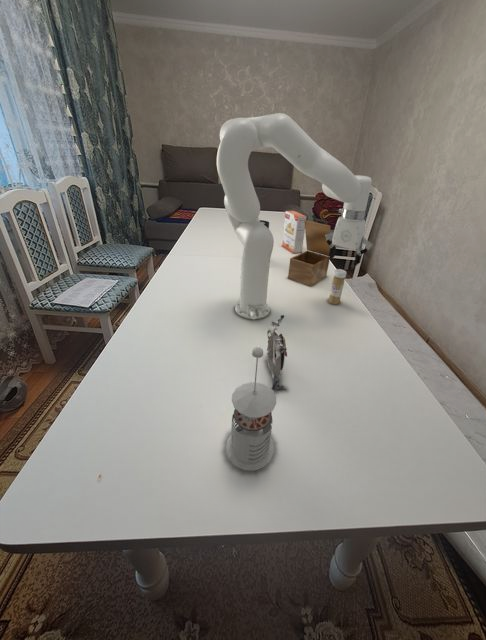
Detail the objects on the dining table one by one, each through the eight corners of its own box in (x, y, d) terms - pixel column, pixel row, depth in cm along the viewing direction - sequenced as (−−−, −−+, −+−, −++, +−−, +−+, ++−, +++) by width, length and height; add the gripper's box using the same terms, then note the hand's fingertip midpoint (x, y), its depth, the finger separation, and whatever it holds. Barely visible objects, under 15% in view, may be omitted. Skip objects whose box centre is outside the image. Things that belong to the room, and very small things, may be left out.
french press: (215, 451, 58) (214, 351, 46) (249, 413, 66) (256, 320, 54) (256, 481, 53) (267, 379, 41) (287, 436, 62) (303, 340, 50)
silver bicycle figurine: (288, 390, 74) (294, 348, 67) (271, 390, 73) (276, 348, 67) (279, 352, 87) (284, 314, 80) (265, 352, 86) (268, 314, 80)
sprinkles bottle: (326, 301, 117) (332, 270, 111) (331, 298, 120) (338, 267, 114) (336, 305, 114) (343, 274, 108) (341, 302, 118) (348, 271, 111)
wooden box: (310, 286, 129) (314, 265, 124) (287, 278, 134) (290, 258, 130) (326, 276, 140) (330, 257, 135) (304, 269, 146) (307, 250, 141)
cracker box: (281, 245, 176) (285, 210, 166) (290, 245, 179) (294, 210, 169) (293, 253, 165) (297, 216, 155) (302, 252, 168) (307, 215, 158)
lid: (329, 226, 123) (335, 219, 125) (304, 220, 129) (310, 214, 131) (329, 256, 135) (335, 249, 137) (306, 250, 141) (312, 243, 143)
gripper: (325, 211, 102) (318, 257, 111) (374, 221, 94) (362, 270, 102) (334, 208, 108) (326, 253, 116) (381, 217, 99) (369, 264, 107)
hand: (343, 261), depth 109 cm, fingers open, 9 cm apart
